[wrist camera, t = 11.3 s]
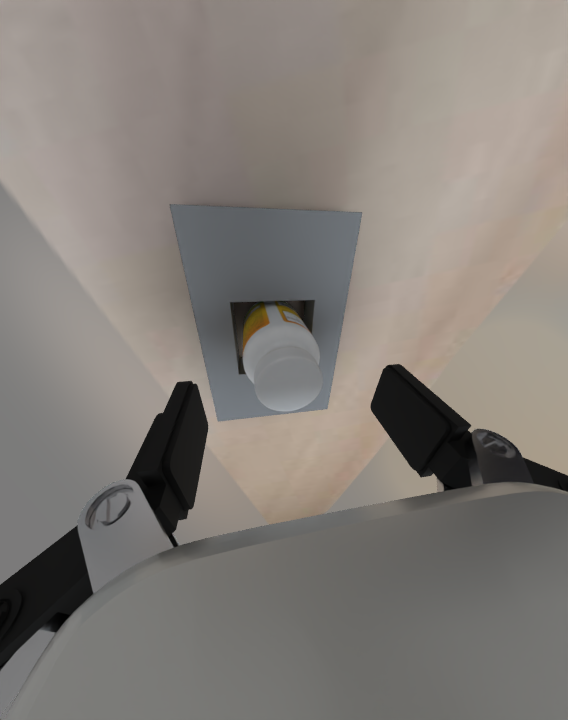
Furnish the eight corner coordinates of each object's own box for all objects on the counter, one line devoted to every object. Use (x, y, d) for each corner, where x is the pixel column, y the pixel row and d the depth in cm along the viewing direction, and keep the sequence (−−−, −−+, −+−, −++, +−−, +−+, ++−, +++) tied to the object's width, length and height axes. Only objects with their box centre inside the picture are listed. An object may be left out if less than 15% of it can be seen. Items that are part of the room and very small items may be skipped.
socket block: (183, 210, 14) (169, 204, 11) (343, 216, 16) (362, 212, 13) (220, 401, 23) (217, 421, 21) (319, 391, 25) (327, 408, 23)
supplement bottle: (248, 353, 21) (250, 427, 12) (238, 301, 18) (231, 354, 10) (299, 345, 21) (333, 412, 13) (297, 293, 18) (338, 338, 10)
